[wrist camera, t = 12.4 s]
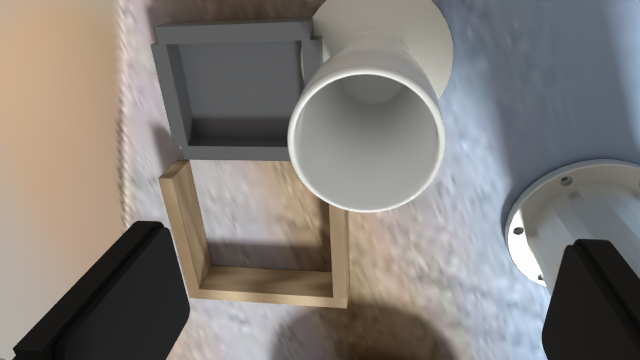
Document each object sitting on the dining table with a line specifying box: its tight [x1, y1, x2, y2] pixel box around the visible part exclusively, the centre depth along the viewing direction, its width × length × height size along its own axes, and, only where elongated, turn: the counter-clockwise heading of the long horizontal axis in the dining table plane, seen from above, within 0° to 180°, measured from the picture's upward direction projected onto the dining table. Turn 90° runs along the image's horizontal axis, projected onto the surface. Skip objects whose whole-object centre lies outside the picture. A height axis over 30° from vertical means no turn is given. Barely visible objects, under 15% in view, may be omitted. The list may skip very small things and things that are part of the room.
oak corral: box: [158, 160, 350, 308], centre depth 38 cm, size 15×13×4 cm
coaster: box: [301, 0, 453, 100], centre depth 31 cm, size 11×11×1 cm
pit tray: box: [151, 17, 323, 161], centre depth 32 cm, size 12×10×2 cm
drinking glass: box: [287, 29, 446, 212], centre depth 24 cm, size 7×7×15 cm
